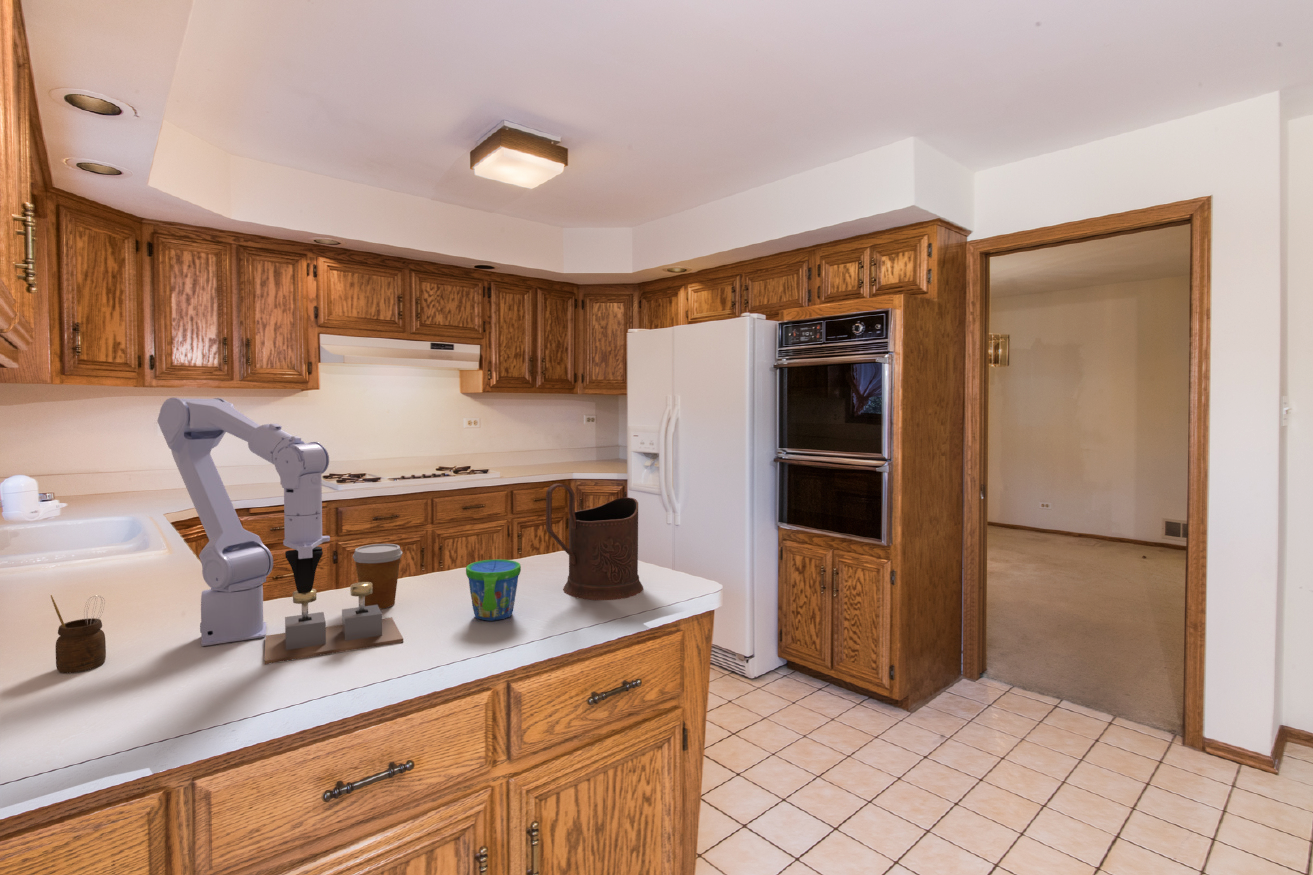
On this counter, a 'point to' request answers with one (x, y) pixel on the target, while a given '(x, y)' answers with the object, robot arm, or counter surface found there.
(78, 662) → the utensil holder
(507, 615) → the snack cup
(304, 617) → the left plunger
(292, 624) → the twin gray blocks
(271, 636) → the walnut board
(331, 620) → the counter surface
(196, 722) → the counter surface
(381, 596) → the disposable coffee cup
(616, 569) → the cup holder
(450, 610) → the counter surface
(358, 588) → the brass round knob
